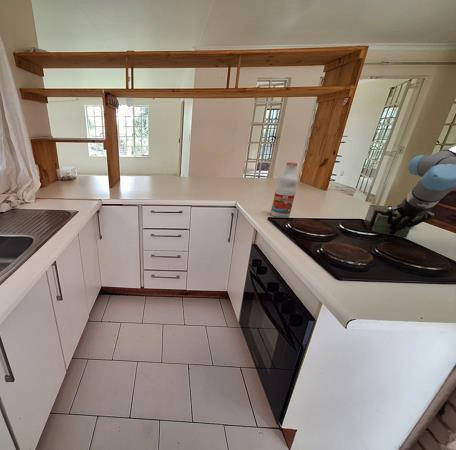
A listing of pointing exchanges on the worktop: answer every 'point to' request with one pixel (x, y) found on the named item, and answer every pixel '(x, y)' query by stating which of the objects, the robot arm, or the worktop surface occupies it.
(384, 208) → the cabinet
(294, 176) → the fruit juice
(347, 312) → the worktop surface
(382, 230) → the drawer
